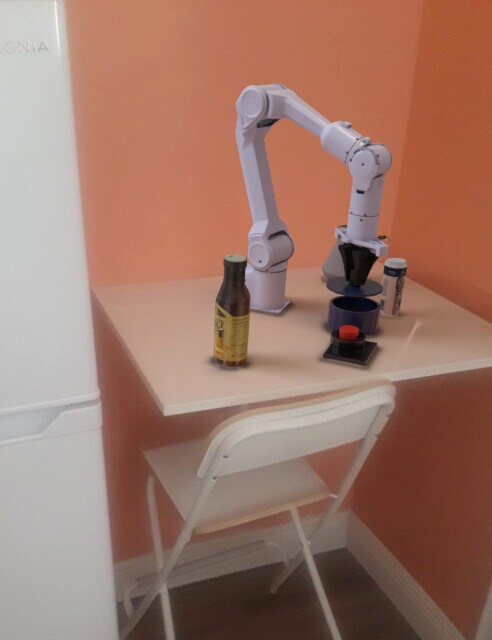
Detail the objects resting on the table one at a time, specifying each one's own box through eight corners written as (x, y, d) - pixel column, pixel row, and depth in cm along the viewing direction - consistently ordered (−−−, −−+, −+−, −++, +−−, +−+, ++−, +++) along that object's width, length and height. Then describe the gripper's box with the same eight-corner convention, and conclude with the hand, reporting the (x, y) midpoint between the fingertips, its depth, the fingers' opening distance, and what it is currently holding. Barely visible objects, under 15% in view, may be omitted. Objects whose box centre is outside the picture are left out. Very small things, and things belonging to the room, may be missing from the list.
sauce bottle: (211, 355, 132) (214, 250, 122) (244, 355, 132) (250, 250, 122) (214, 370, 126) (218, 262, 116) (249, 370, 127) (255, 262, 117)
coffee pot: (312, 275, 175) (319, 214, 167) (353, 272, 178) (361, 211, 170) (354, 304, 158) (363, 238, 150) (398, 300, 161) (409, 234, 153)
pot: (320, 332, 143) (323, 307, 140) (334, 316, 151) (337, 292, 148) (370, 341, 139) (374, 316, 137) (381, 324, 148) (385, 300, 145)
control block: (364, 368, 129) (367, 353, 127) (320, 359, 131) (321, 345, 130) (377, 348, 137) (379, 334, 135) (334, 340, 140) (336, 326, 138)
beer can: (399, 319, 151) (408, 264, 145) (376, 316, 151) (385, 262, 145) (398, 311, 155) (407, 257, 149) (376, 309, 155) (384, 255, 149)
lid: (318, 294, 138) (321, 272, 136) (334, 278, 147) (336, 257, 145) (375, 303, 134) (378, 281, 132) (387, 286, 143) (391, 265, 141)
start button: (355, 342, 133) (356, 333, 132) (336, 338, 134) (337, 330, 133) (359, 335, 135) (361, 327, 135) (341, 332, 137) (342, 323, 136)
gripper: (325, 206, 137) (317, 274, 144) (370, 224, 126) (360, 296, 133) (354, 203, 140) (346, 270, 147) (401, 220, 129) (390, 292, 136)
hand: (354, 282), depth 140 cm, fingers closed on lid, 2 cm apart
